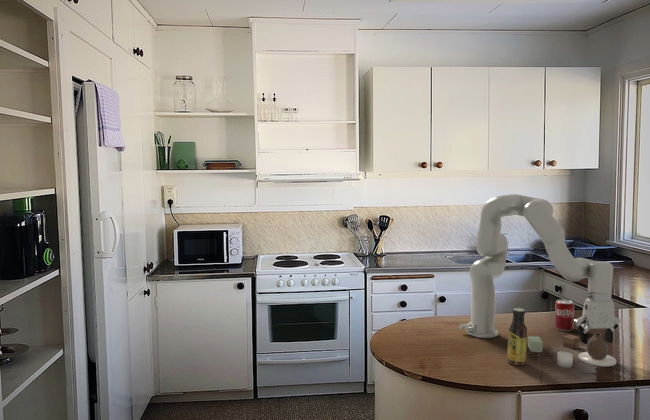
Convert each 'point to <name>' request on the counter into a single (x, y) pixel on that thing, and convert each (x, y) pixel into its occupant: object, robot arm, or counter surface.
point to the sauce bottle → (517, 338)
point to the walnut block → (571, 341)
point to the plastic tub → (565, 359)
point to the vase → (597, 347)
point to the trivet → (604, 362)
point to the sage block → (535, 344)
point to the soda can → (564, 315)
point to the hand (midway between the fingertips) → (596, 342)
